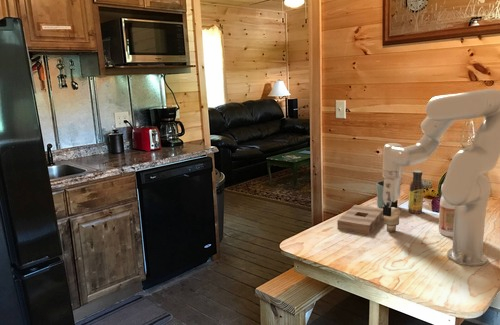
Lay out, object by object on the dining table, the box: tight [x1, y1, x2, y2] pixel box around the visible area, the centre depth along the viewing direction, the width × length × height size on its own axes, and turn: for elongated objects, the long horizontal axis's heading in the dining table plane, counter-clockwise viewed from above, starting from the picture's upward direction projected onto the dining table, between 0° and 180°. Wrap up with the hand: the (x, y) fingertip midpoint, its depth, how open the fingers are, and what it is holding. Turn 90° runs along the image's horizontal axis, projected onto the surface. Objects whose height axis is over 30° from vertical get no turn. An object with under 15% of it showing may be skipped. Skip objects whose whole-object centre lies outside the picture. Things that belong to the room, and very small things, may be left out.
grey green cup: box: [376, 180, 390, 209], centre depth 198 cm, size 10×10×12 cm
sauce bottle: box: [407, 170, 425, 214], centre depth 187 cm, size 7×6×20 cm
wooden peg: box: [383, 207, 400, 233], centre depth 169 cm, size 6×6×10 cm
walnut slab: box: [336, 204, 384, 235], centre depth 180 cm, size 22×14×4 cm, turn 146°
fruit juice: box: [438, 166, 455, 238], centre depth 161 cm, size 9×9×28 cm
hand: (390, 211), depth 169 cm, fingers open, 9 cm apart
